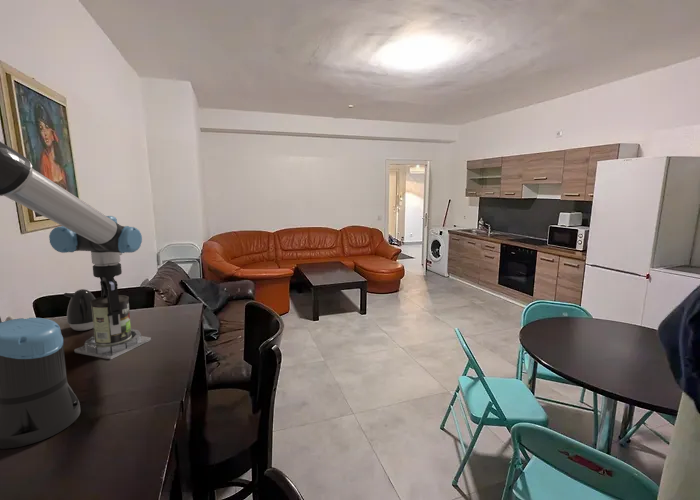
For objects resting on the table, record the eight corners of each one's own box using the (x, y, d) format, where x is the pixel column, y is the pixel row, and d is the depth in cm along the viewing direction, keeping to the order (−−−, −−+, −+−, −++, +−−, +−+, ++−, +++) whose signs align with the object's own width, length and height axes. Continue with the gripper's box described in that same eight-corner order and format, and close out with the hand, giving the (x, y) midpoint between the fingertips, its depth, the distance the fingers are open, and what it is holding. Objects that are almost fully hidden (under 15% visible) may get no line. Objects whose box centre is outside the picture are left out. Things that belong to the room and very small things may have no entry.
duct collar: (110, 359, 105) (109, 350, 104) (74, 352, 109) (73, 343, 108) (151, 340, 119) (150, 332, 119) (117, 334, 123) (117, 326, 123)
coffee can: (134, 331, 120) (131, 293, 118) (128, 343, 111) (125, 302, 108) (99, 335, 116) (95, 296, 114) (90, 348, 107) (85, 305, 104)
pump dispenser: (72, 325, 130) (68, 287, 128) (104, 321, 135) (101, 284, 132) (63, 335, 121) (58, 294, 119) (98, 331, 125) (94, 291, 123)
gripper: (128, 268, 104) (134, 336, 107) (113, 257, 120) (118, 317, 123) (98, 271, 99) (105, 342, 102) (87, 259, 115) (93, 321, 118)
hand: (112, 328), depth 113 cm, fingers closed on coffee can, 10 cm apart
